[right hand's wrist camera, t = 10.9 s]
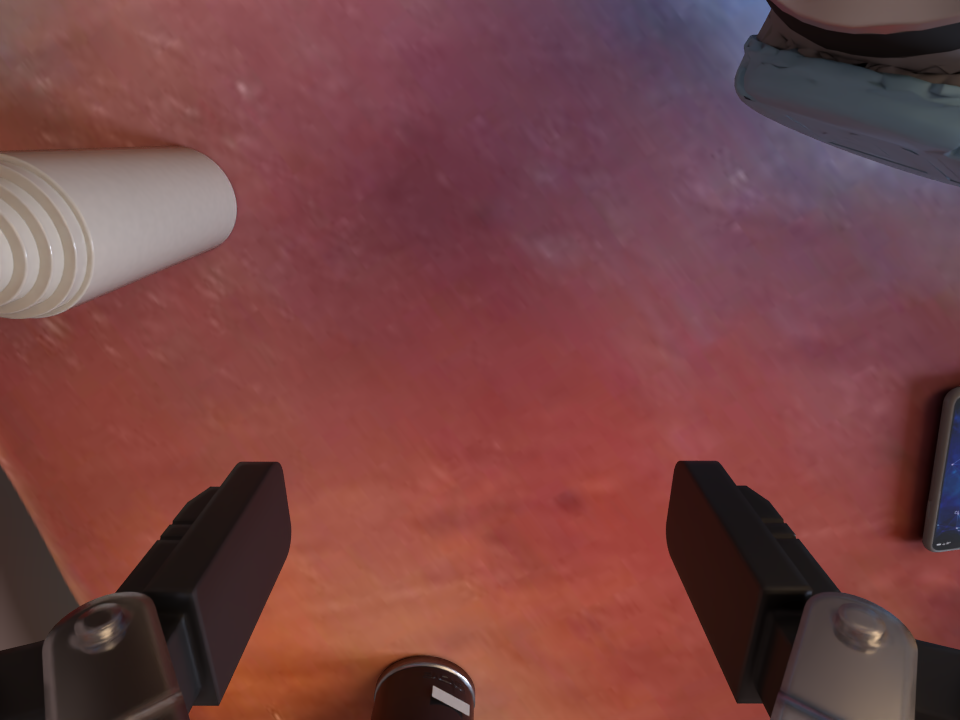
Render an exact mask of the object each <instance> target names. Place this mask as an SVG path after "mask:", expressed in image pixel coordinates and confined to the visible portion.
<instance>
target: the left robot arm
mask: <svg viewBox="0 0 960 720" xmlns="http://www.w3.org/2000/svg"><path fill="white" fill-rule="evenodd" d="M766 1H767V2H768V4H769V5H770V7H771V11H770V13H769V15H768V17H767V19H766V21H765V23H764V25H763V26H762V28H761V30H760V32H759V34H758V35H751V36H750V37H749V39H748V40H747V42H746V43H745V45H744V51H745V55H744V57H743V59H742V61H741V64H740V66H739V68H738V70H737V73H736V76H735V85H734V86H735V90H736V93H737V94H738V96H739V98H740V99H741V100H742V101H743V102H744V103H745V104H746V105H748V106H749V107H750V108H752V109H753V110H755V111H757V112H758V113H760V114H762V115H764V116H766V117H767V118H770V119H772V120H774V121H776V122H778V123H780V124H782V125H784V126H786V127H788V128H791V129H793V130H795V131H798V132H800V133H803V134H805V135H807V136H810V137H812V138H814V139H817V140H819V141H822V142H824V143H827V144H829V145H832V146H834V147H837V148H840V149H842V150H845V151H848V152H850V153H853V154H856V155H859V156H862V157H864V158H867V159H870V160H873V161H876V162H879V163H882V164H885V165H888V166H891V167H894V168H897V169H900V170H903V171H906V172H909V173H912V174H916V175H919V176H922V177H926V178H929V179H932V180H936V181H939V182H943V183H947V184H951V185H954V186H958V187H960V0H766Z"/></svg>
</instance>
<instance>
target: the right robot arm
mask: <svg viewBox="0 0 960 720" xmlns="http://www.w3.org/2000/svg"><path fill="white" fill-rule="evenodd" d="M160 537H161V538H160V540H157V541H156V543H155V544H154V545H153V546H152V548H151V549H150V550H149V551H148V553H147V554H146V555H145V556H144V558H143V559H142V560H141V561H140V563H139V564H138V565H137V566H136V568H135V569H134V570H133V571H132V573H131V574H130V575H129V576H128V578H127V579H126V580H125V581H124V583H123V584H122V585H121V586H120V588H119V589H118V590H117V591H116V593H114V594H109V595H105V596H103V597H100V598H97V599H94V600H92V601H90V602H87V603H85V604H84V605H82V606H80V607H78V608H77V609H75V610H73V611H72V612H70V613H69V614H68V615H66V616H65V617H64V618H63V619H61V620H60V621H59V622H58V623H57V624H56V625H55V626H54V628H53V629H52V630H51V631H50V632H49V634H48V636H47V637H46V639H45V640H43V641H39V642H35V643H31V644H27V645H23V646H19V647H15V648H10V649H6V650H2V651H0V720H190V718H189V715H188V714H189V712H190V710H191V708H192V706H219V704H220V702H221V700H222V698H223V695H224V693H225V691H226V689H227V687H228V684H229V682H230V680H231V678H232V676H233V674H234V671H235V669H236V667H237V665H238V663H239V660H240V658H241V656H242V654H243V652H244V650H245V647H246V645H247V643H248V641H249V639H250V636H251V634H252V632H253V630H254V628H255V626H256V623H257V621H258V619H259V617H260V615H261V612H262V610H263V608H264V606H265V604H266V602H267V599H268V597H269V595H270V593H271V591H272V588H273V586H274V584H275V582H276V580H277V578H278V575H279V573H280V571H281V569H282V567H283V564H284V562H285V560H286V558H287V555H288V552H289V548H290V542H291V522H290V515H289V509H288V502H287V495H286V488H285V482H284V475H283V470H282V467H281V465H280V463H278V462H239V463H238V464H237V465H236V466H235V467H234V469H233V470H232V471H231V473H230V474H229V475H228V477H227V478H226V479H225V481H224V482H223V483H222V485H221V486H220V487H209V488H208V489H207V490H205V491H204V492H202V493H201V494H199V495H198V496H196V497H195V498H193V499H192V500H190V501H189V502H187V504H186V505H185V506H184V507H183V509H182V510H181V511H180V512H179V514H178V515H177V516H176V517H175V519H174V520H173V524H172V525H169V526H168V527H167V529H166V530H165V531H164V532H163V534H162V535H161V536H160ZM666 539H667V546H668V550H669V554H670V556H671V559H672V561H673V563H674V565H675V568H676V570H677V572H678V574H679V576H680V579H681V581H682V583H683V585H684V587H685V590H686V592H687V594H688V596H689V598H690V601H691V603H692V605H693V607H694V609H695V612H696V614H697V616H698V618H699V621H700V623H701V625H702V627H703V629H704V632H705V634H706V636H707V638H708V640H709V643H710V645H711V647H712V649H713V651H714V654H715V656H716V658H717V660H718V662H719V665H720V667H721V669H722V671H723V674H724V676H725V678H726V680H727V682H728V685H729V687H730V689H731V691H732V693H733V696H734V698H735V700H736V702H737V703H763V704H764V706H765V708H766V710H767V712H768V714H769V716H770V720H960V650H958V649H954V648H949V647H945V646H941V645H937V644H933V643H928V642H924V641H920V640H916V639H914V637H913V636H912V634H911V632H910V631H909V630H908V629H907V627H906V626H905V625H904V624H903V623H902V622H901V621H900V620H899V619H897V618H896V617H895V616H894V615H892V614H891V613H890V612H888V611H887V610H885V609H883V608H882V607H880V606H878V605H876V604H875V603H873V602H870V601H868V600H866V599H863V598H860V597H857V596H855V595H851V594H846V593H841V592H840V590H839V589H838V588H837V587H836V585H835V584H834V583H833V582H832V580H831V579H830V578H829V577H828V575H827V574H826V573H825V571H824V570H823V569H822V568H821V566H820V565H819V564H818V563H817V561H816V560H815V559H814V558H813V556H812V555H811V554H810V553H809V551H808V550H807V549H806V547H805V546H804V545H803V544H802V542H801V541H800V540H799V539H796V537H795V534H794V532H793V531H792V530H791V529H790V527H789V526H788V525H787V523H784V522H783V518H782V517H781V516H780V515H779V513H778V512H777V511H776V510H775V508H774V507H773V506H772V504H771V503H770V502H769V501H768V500H766V499H765V498H763V497H762V496H760V495H759V494H758V493H756V492H755V491H753V490H752V489H750V488H749V487H747V486H736V484H735V483H734V482H733V480H732V479H731V478H730V476H729V475H728V473H727V472H726V471H725V469H724V468H723V467H722V465H721V464H720V463H719V462H718V461H678V462H677V464H676V466H675V469H674V474H673V481H672V488H671V495H670V502H669V508H668V515H667V522H666ZM474 707H475V688H474V684H473V682H472V680H471V678H470V677H469V675H468V674H467V673H466V672H465V671H464V670H463V669H462V668H461V667H459V666H458V665H456V664H454V663H452V662H450V661H448V660H445V659H441V658H437V657H430V656H417V657H410V658H406V659H403V660H400V661H398V662H396V663H394V664H392V665H391V666H389V667H388V668H387V669H386V670H385V671H384V672H383V673H382V674H381V675H380V677H379V679H378V681H377V685H376V689H375V695H374V706H373V711H372V717H371V720H474Z"/></svg>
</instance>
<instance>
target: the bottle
mask: <svg viewBox="0 0 960 720" xmlns="http://www.w3.org/2000/svg"><path fill="white" fill-rule="evenodd" d="M236 214H237V205H236V198H235V194H234V191H233V188H232V186H231V184H230V182H229V180H228V178H227V176H226V175H225V174H224V172H223V171H222V170H221V169H220V167H219V166H218V165H217V164H216V163H215V162H214V161H212V160H211V159H210V158H208V157H207V156H206V155H204V154H202V153H200V152H198V151H196V150H194V149H191V148H187V147H182V146H146V147H113V148H80V149H47V150H13V151H0V317H4V318H12V319H25V318H44V317H50V316H54V315H57V314H60V313H62V312H65V311H67V310H69V309H72V308H74V307H76V306H79V305H81V304H84V303H86V302H88V301H91V300H93V299H95V298H98V297H100V296H103V295H105V294H107V293H110V292H112V291H114V290H117V289H119V288H122V287H124V286H126V285H129V284H131V283H133V282H136V281H138V280H141V279H143V278H145V277H148V276H150V275H152V274H155V273H157V272H160V271H162V270H164V269H167V268H169V267H171V266H174V265H176V264H179V263H181V262H183V261H186V260H188V259H190V258H193V257H195V256H198V255H200V254H202V253H205V252H207V251H209V250H212V249H214V248H216V247H217V246H219V245H220V244H222V243H223V242H224V241H225V240H226V239H227V237H228V236H229V235H230V233H231V231H232V229H233V227H234V224H235V220H236Z"/></svg>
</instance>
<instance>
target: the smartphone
mask: <svg viewBox="0 0 960 720" xmlns="http://www.w3.org/2000/svg"><path fill="white" fill-rule="evenodd" d="M922 542H923V545H924V546H925V548H927V549H928V550H929V551H932V552H943V551H950V550H958V549H960V387H957V388H954V389H952V390H951V391H949V392H948V393H947V394H946V396H945V398H944V400H943V407H942V413H941V420H940V427H939V433H938V440H937V446H936V453H935V460H934V466H933V473H932V479H931V486H930V493H929V499H928V504H927V511H926V519H925V526H924V532H923V539H922Z"/></svg>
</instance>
